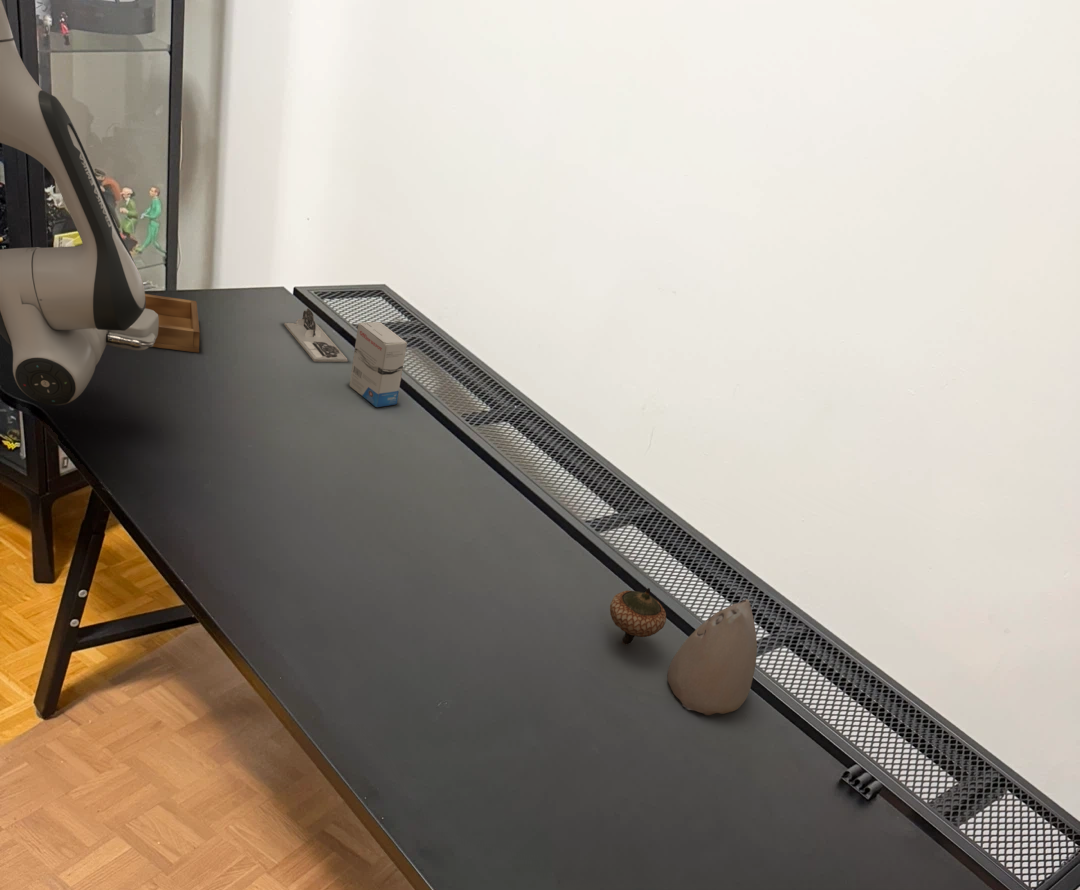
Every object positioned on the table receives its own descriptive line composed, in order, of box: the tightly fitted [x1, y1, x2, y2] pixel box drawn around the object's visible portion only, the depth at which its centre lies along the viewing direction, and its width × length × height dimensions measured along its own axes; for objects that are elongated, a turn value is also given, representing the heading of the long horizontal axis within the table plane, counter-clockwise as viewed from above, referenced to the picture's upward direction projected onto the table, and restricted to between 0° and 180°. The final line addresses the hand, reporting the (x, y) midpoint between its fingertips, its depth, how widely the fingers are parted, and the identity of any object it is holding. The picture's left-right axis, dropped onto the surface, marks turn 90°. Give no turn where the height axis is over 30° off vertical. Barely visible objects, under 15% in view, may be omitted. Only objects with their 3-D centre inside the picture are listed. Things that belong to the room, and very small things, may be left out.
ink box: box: [348, 321, 408, 408], centre depth 179 cm, size 9×5×12 cm, turn 42°
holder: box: [145, 293, 201, 354], centre depth 179 cm, size 13×13×4 cm
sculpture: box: [667, 598, 758, 716], centre depth 138 cm, size 13×12×15 cm
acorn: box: [609, 587, 667, 646], centre depth 143 cm, size 8×8×10 cm
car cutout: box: [283, 308, 349, 363], centre depth 192 cm, size 15×7×4 cm, turn 31°
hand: (92, 294), depth 149 cm, fingers closed on supplement bottle, 5 cm apart
